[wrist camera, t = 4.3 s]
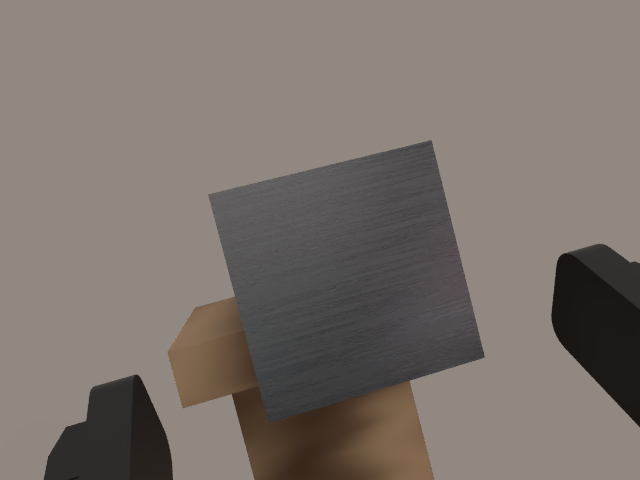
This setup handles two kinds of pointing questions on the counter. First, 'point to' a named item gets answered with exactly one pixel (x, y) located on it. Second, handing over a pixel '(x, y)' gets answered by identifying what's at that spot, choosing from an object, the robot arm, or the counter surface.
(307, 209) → the brushed steel bar
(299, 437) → the tall column
